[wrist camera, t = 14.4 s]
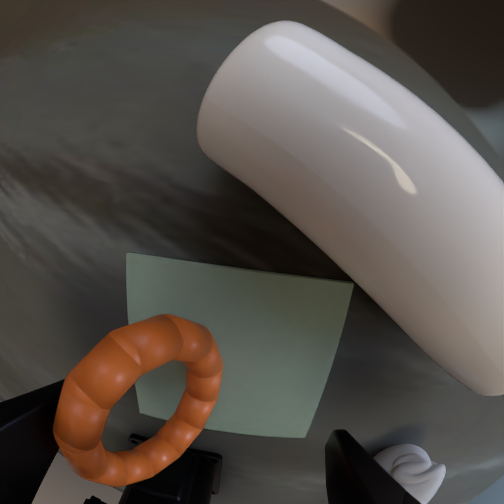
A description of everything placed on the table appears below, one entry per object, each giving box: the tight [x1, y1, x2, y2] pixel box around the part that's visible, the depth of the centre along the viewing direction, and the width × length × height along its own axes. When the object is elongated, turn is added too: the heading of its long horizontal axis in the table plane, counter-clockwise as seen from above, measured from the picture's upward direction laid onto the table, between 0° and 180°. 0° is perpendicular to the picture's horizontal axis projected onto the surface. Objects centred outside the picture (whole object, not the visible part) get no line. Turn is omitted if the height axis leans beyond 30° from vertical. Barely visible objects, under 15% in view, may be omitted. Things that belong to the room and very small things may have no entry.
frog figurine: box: [373, 444, 445, 504], centre depth 11 cm, size 6×7×7 cm
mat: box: [126, 252, 354, 438], centre depth 13 cm, size 10×10×1 cm
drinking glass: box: [196, 21, 504, 396], centre depth 8 cm, size 7×7×15 cm
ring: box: [53, 314, 223, 487], centre depth 9 cm, size 8×2×8 cm
